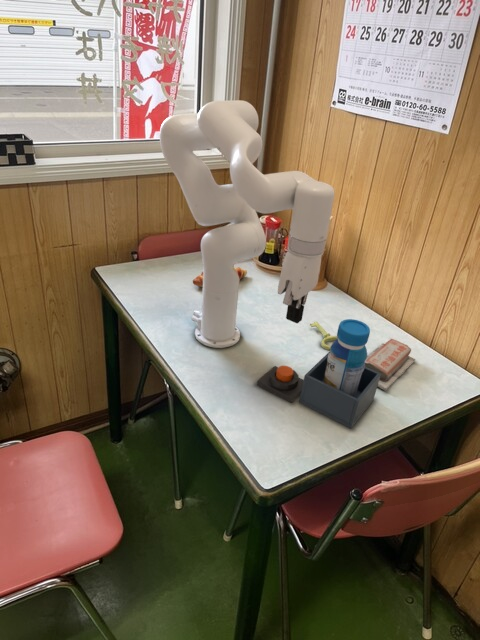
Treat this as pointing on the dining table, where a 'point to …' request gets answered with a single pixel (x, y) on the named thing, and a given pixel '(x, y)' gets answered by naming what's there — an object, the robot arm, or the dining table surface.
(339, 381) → the beverage bottle
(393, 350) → the packaged product
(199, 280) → the croissant
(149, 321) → the dining table surface
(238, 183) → the robot arm
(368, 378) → the blue box
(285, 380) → the call button
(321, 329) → the key
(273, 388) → the box
